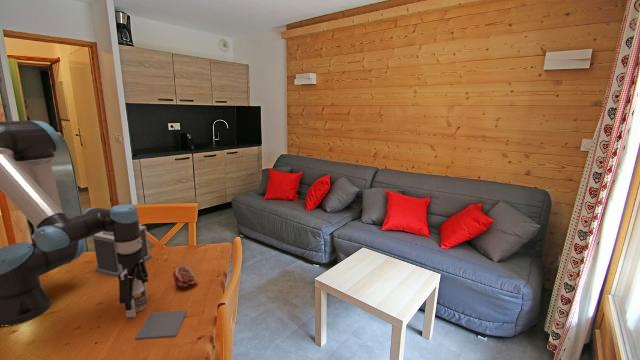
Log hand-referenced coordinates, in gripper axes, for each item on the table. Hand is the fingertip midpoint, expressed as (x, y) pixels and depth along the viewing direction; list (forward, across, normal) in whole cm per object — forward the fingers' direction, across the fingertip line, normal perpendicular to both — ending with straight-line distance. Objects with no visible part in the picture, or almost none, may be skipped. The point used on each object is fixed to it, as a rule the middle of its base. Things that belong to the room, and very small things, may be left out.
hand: (137, 307), depth 109 cm
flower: (0, +13, -13) cm, 18 cm away
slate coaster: (0, -10, -12) cm, 16 cm away
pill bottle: (0, 0, 0) cm, 0 cm away
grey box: (0, +33, +19) cm, 38 cm away
